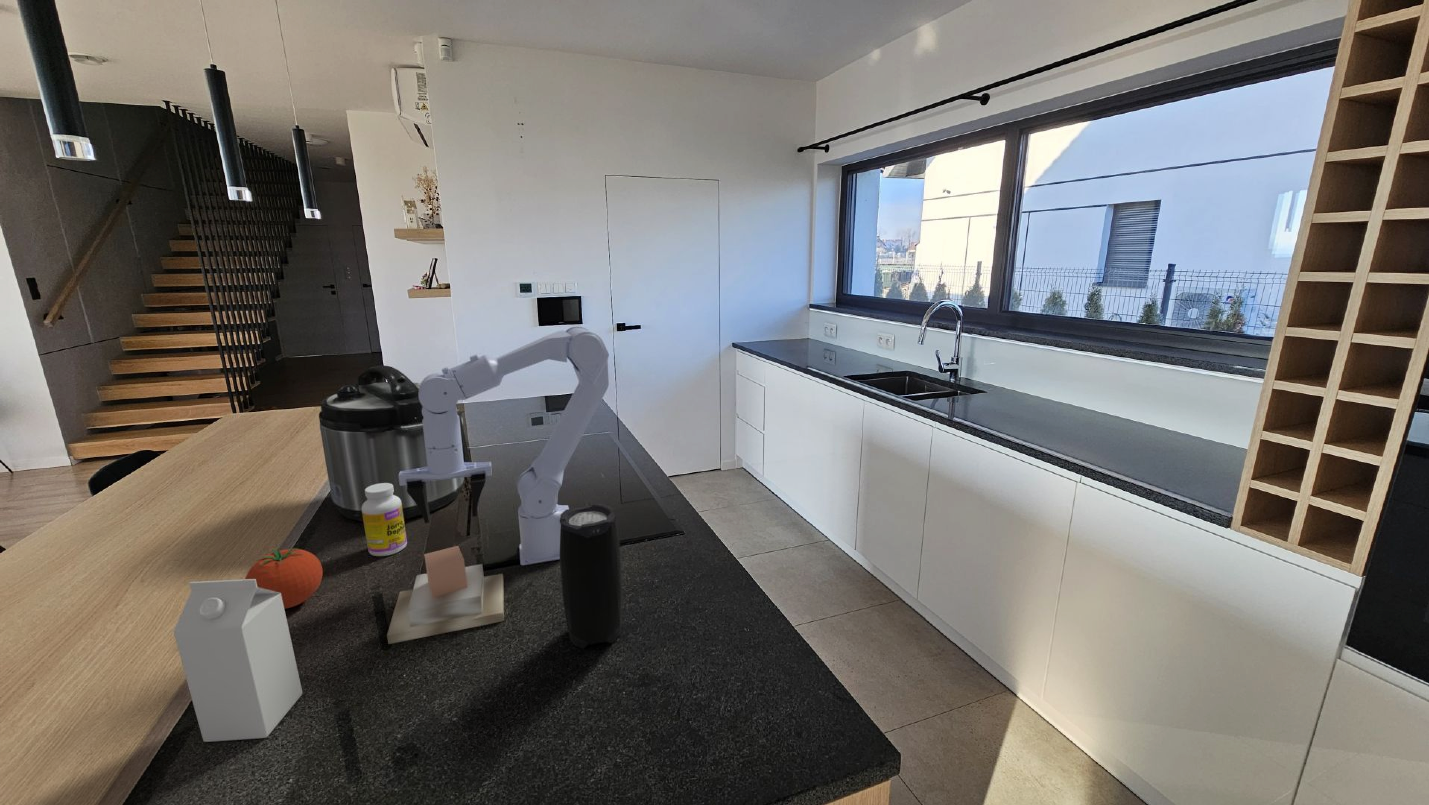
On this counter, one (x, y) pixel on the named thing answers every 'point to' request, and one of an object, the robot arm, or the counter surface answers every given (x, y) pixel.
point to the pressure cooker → (379, 442)
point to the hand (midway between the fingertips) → (451, 517)
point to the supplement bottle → (383, 520)
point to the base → (448, 625)
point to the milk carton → (237, 659)
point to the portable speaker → (591, 574)
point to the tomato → (288, 574)
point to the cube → (445, 571)
